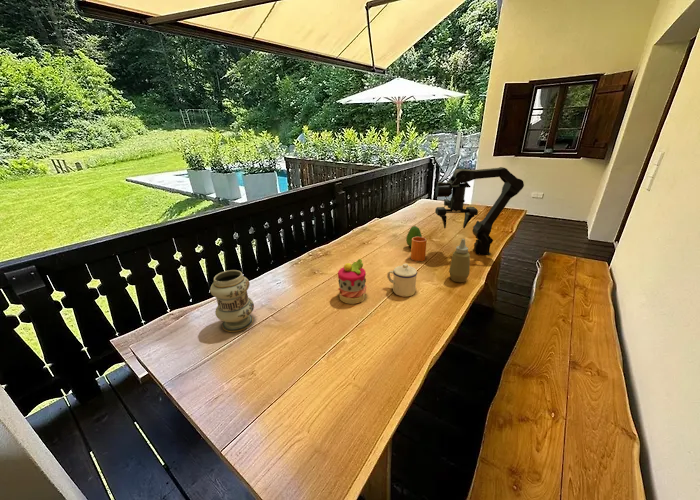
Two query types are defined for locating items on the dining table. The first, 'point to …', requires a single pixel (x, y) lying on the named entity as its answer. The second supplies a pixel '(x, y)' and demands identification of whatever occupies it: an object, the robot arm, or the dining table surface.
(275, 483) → the dining table surface
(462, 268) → the squeeze bottle
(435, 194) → the robot arm
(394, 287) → the teacup with lid
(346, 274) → the cake
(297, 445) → the dining table surface
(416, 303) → the dining table surface
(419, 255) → the orange cup
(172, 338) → the dining table surface
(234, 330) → the apothecary jar
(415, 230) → the avocado
